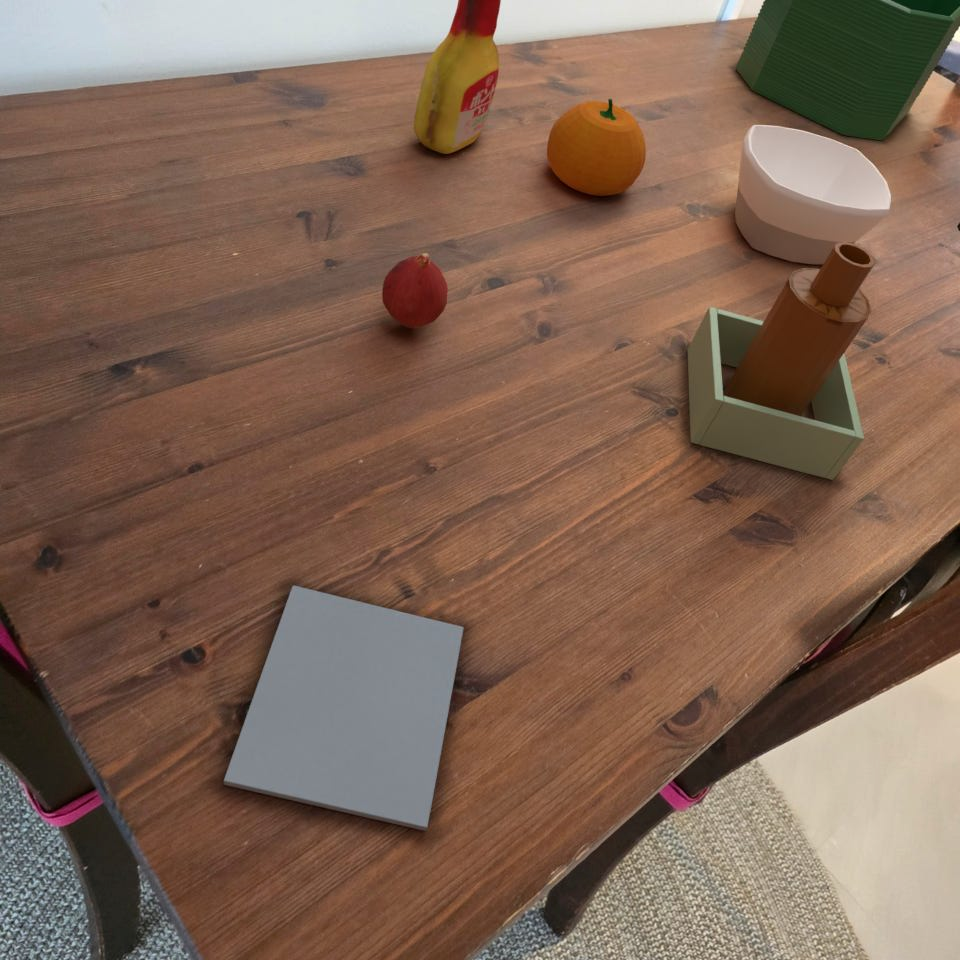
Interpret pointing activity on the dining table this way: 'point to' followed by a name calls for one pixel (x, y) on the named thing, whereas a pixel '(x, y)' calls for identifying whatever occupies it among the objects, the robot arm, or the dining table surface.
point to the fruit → (597, 148)
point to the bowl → (805, 194)
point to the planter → (848, 58)
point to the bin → (762, 428)
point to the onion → (415, 291)
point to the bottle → (460, 80)
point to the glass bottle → (805, 333)
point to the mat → (350, 709)
